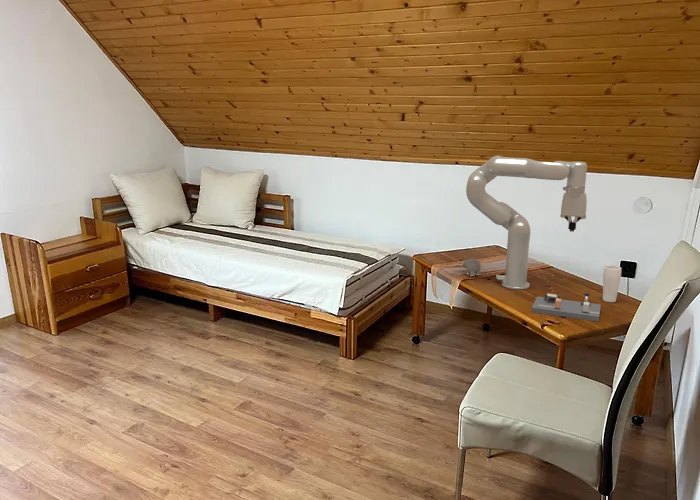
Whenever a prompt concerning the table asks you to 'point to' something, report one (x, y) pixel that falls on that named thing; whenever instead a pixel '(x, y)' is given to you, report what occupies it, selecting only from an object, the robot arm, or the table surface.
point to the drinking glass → (611, 282)
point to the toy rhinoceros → (472, 266)
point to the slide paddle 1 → (557, 303)
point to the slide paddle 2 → (586, 307)
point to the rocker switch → (552, 296)
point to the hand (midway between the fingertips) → (571, 230)
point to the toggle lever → (586, 296)
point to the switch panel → (566, 308)
